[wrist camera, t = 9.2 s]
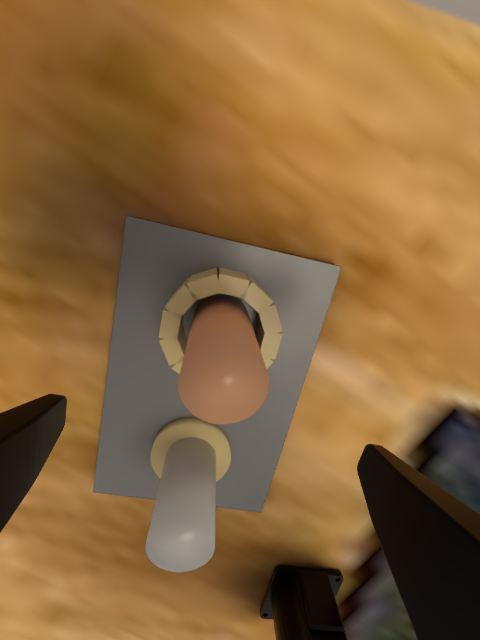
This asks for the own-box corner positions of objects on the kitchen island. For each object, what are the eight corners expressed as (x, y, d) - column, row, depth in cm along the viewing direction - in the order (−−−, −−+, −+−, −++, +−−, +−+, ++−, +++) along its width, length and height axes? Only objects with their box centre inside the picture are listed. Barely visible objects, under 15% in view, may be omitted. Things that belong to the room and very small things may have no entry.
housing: (259, 501, 25) (277, 621, 18) (98, 481, 24) (40, 604, 16) (335, 265, 20) (408, 291, 12) (131, 216, 18) (66, 211, 10)
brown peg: (242, 351, 20) (256, 430, 12) (189, 341, 20) (170, 417, 12) (255, 300, 19) (279, 353, 11) (199, 288, 19) (186, 335, 11)
